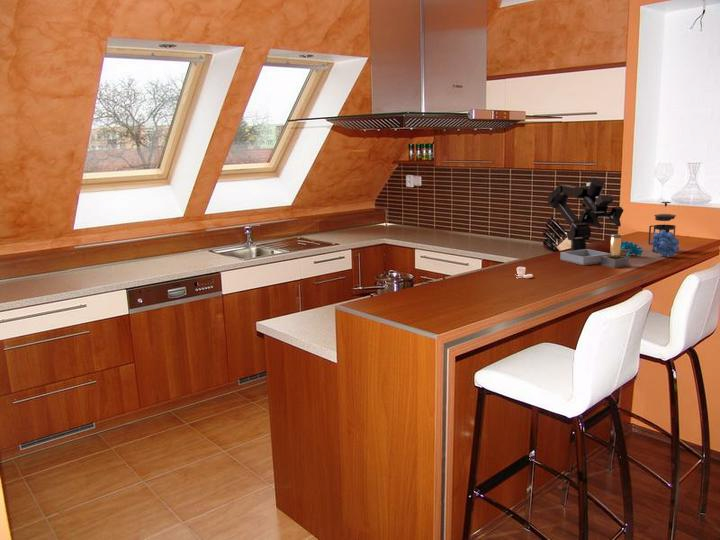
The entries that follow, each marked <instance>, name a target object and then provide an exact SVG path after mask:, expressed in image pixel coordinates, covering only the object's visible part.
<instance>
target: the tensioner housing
mask: <svg viewBox="0 0 720 540" xmlns="http://www.w3.org/2000/svg"><path fill="white" fill-rule="evenodd" d="M600 265H601V266H605V267H609V268H614V269H616V268H623V267H624V268H625V267H629V265H630V257H629V256H628V257H626V256H622V255H620V258H619V259H612V258H610V256H604V257H601V263H600Z"/></svg>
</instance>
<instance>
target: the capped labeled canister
mask: <svg viewBox="0 0 720 540" xmlns="http://www.w3.org/2000/svg"><path fill="white" fill-rule="evenodd" d="M621 243H622V234H617V233H613V234H610V251H609V253H610V258H612V259H619V258H620V256H621V255H620V253H621ZM621 254H622V253H621Z"/></svg>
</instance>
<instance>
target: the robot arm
mask: <svg viewBox="0 0 720 540" xmlns="http://www.w3.org/2000/svg"><path fill="white" fill-rule="evenodd" d="M605 184H606V183H605V182H604V180H603V181H602V180H601V179H599V178H596V177H591V179H590V183H589V185H583V186H580V185H578V186H575V185H569V184H559V185H557V187H556V188H555V189H553V190H552V191H551V192H550V193H549V194H548V195H549V196H547V203H548V205H549V206H550V207H551V208H553V209H555V210H557V211H558V212H559V213H560V214H561V215H562V217H563V219H564V220H565V221H566V222H567V224H568V225H569V226H570V229H569V232H568V233H567V234H566V235H567V236H566V237H567V240H568V241H570V251H575V250H583V249H587V243H586V241H587V240H590V238H591V234H592V228H591V226H593V227H595V228H598V229H601V228H602V225H601V223H600V222H599V220H598V219H603V218H608V219H609V220H610V221H611V223H613V224H615V226H617V227H622V226H621V225H622V224H621V223H622V222H621V220H620V219H621V216H622V214H623V213H624V208H623V207H622V206H613V207H612V208H611V210H610V211H607V210H609V204H612V203H613V202H614V200H615V199H614V197H613V196H612V195H611V194H603V195H601V194H602V192H603V189H604V187H605ZM569 195H572V196H573V197H574V198H575V199H577V200H582V204H581V207H582V208H584V209H582V210H581V213H580V215H579V217H578V216H577V215H576V214H575V213H574V211H573V210H572V209H571V208H570V206H569V205H568V204H567V202H568V199H569Z"/></svg>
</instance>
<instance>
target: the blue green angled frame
mask: <svg viewBox="0 0 720 540" xmlns="http://www.w3.org/2000/svg"><path fill="white" fill-rule="evenodd" d="M638 245H639V244H638V243H634V242H633V241H629V242H628V240H625V241H622V240H621V253H620V256H622V255H621V254H624V253H625V254H626V255H625V257H628V258H629V256H633V255H635V256H641V255H642V254H643V252H644V250H643V249H642V248H643V247H641V246H638Z"/></svg>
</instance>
